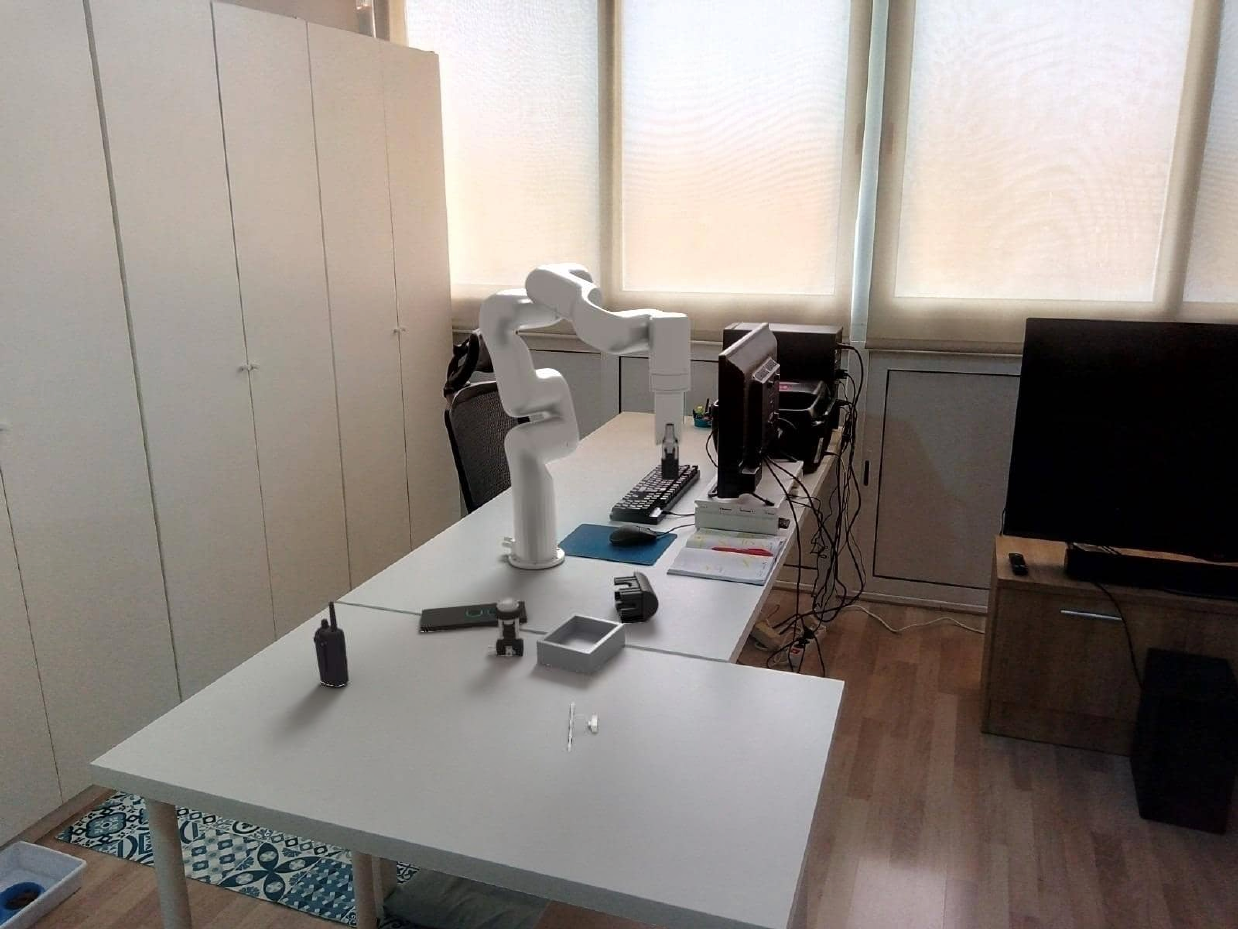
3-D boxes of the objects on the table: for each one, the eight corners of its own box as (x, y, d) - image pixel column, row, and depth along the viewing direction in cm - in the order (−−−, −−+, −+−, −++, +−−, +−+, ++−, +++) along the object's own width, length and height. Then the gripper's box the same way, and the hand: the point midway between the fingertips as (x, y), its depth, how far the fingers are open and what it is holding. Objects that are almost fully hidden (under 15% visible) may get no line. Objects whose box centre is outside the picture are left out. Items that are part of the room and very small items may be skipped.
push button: (486, 661, 156) (482, 608, 153) (490, 647, 161) (486, 595, 159) (524, 660, 156) (521, 607, 153) (526, 646, 161) (524, 595, 159)
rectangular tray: (537, 662, 155) (536, 641, 154) (574, 632, 166) (574, 613, 165) (590, 675, 150) (589, 654, 149) (625, 644, 161) (624, 624, 160)
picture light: (570, 704, 143) (570, 692, 142) (597, 704, 143) (597, 692, 142) (566, 755, 129) (566, 742, 129) (596, 755, 129) (596, 742, 129)
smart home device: (527, 617, 170) (420, 627, 167) (527, 625, 170) (420, 635, 167) (524, 599, 178) (422, 608, 175) (524, 607, 178) (422, 616, 175)
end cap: (659, 622, 170) (658, 589, 168) (622, 626, 169) (621, 592, 167) (649, 601, 179) (648, 569, 177) (614, 604, 178) (613, 572, 176)
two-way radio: (354, 682, 150) (344, 600, 146) (333, 694, 146) (323, 610, 142) (331, 675, 153) (321, 594, 149) (310, 686, 149) (299, 604, 145)
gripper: (650, 373, 171) (651, 459, 176) (647, 391, 155) (648, 485, 159) (689, 373, 171) (689, 459, 175) (691, 390, 154) (691, 485, 159)
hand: (670, 471), depth 167 cm, fingers open, 9 cm apart
